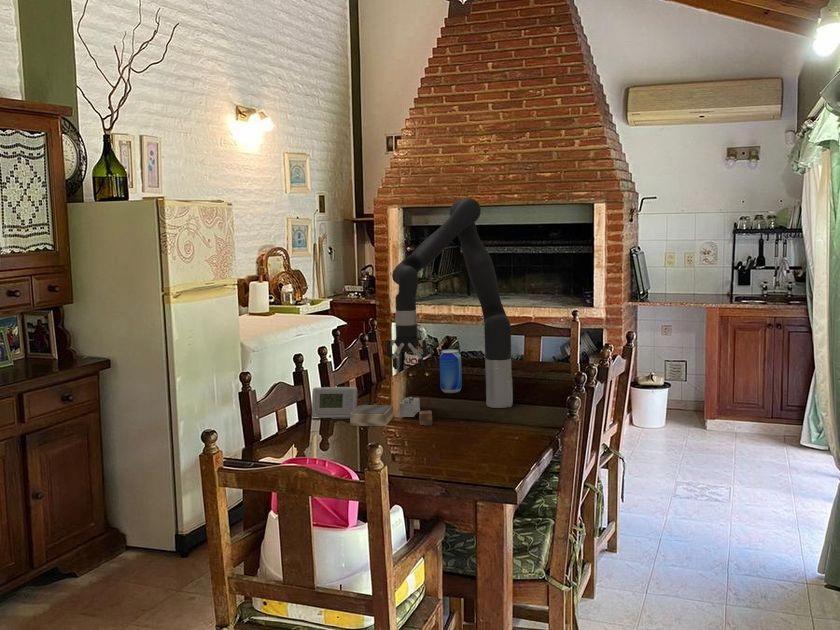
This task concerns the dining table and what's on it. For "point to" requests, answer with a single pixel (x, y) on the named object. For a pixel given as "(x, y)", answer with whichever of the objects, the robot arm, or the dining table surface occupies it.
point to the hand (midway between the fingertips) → (407, 369)
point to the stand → (371, 415)
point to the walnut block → (425, 417)
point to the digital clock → (334, 402)
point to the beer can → (450, 371)
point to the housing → (409, 407)
